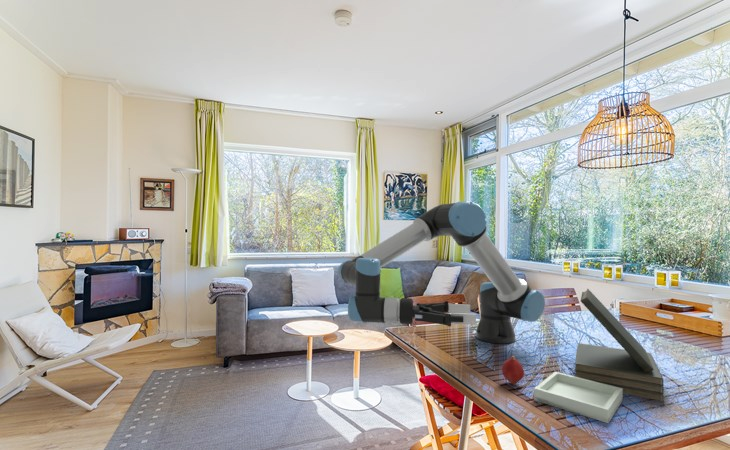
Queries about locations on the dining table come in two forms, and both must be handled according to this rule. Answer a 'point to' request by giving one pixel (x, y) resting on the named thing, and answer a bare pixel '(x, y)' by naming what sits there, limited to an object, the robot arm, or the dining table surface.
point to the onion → (512, 370)
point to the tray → (580, 396)
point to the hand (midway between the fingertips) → (473, 313)
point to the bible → (618, 358)
